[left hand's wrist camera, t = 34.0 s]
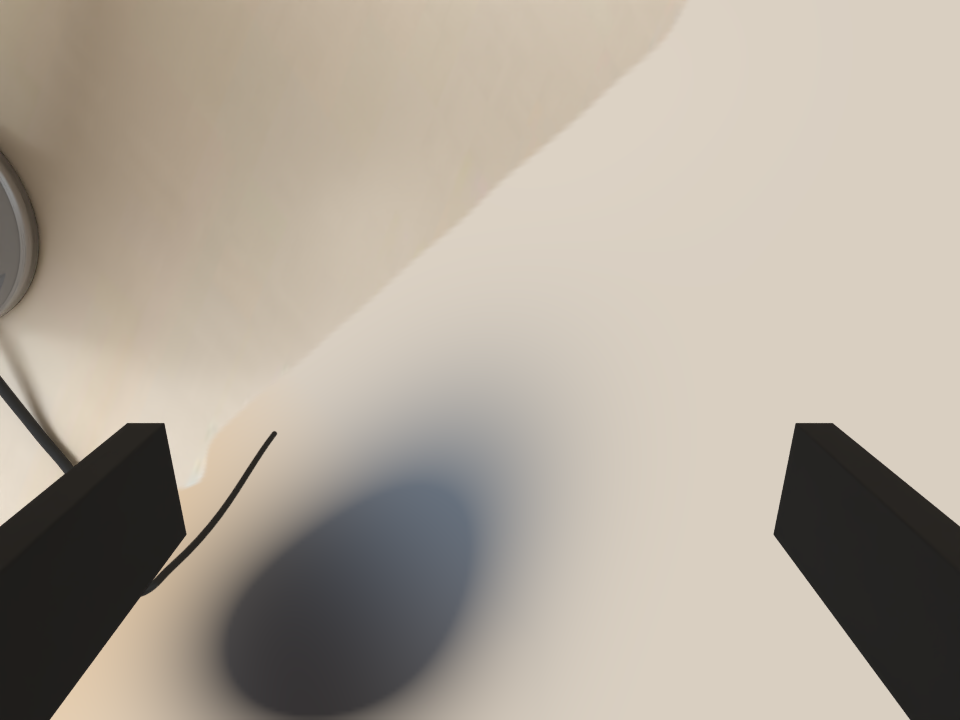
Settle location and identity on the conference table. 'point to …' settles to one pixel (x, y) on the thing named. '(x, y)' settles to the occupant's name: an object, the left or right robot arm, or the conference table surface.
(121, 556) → the left robot arm
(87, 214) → the conference table surface
